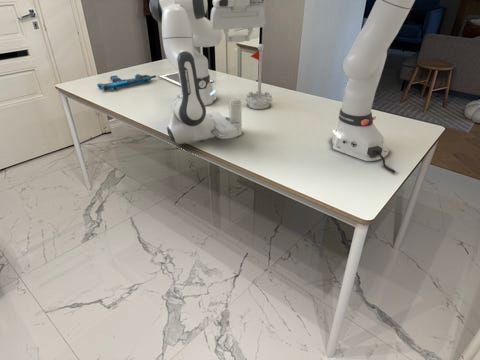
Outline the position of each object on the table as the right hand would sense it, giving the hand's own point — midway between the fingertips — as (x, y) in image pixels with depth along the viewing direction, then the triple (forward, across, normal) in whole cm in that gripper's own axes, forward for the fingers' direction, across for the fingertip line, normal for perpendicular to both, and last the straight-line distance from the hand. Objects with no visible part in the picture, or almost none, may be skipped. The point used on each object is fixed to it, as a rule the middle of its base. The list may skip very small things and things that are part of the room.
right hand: (238, 41), depth 128 cm
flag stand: (+38, -18, -29) cm, 51 cm away
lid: (-2, 0, 0) cm, 2 cm away
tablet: (+37, +13, -85) cm, 93 cm away
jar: (+38, +2, +1) cm, 38 cm away
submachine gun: (+37, +49, -87) cm, 106 cm away
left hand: (+32, +1, 0) cm, 32 cm away
